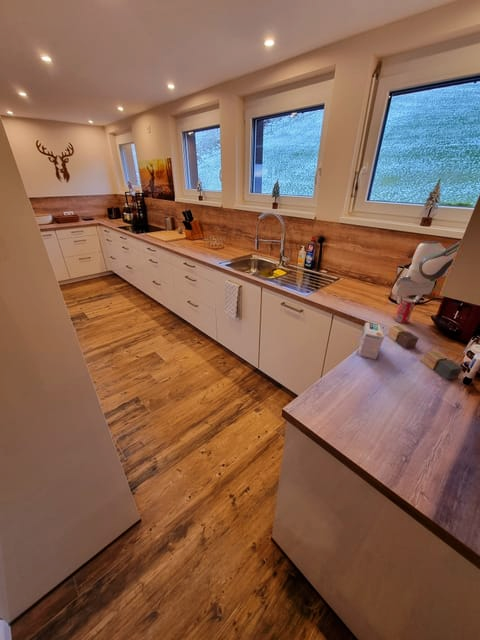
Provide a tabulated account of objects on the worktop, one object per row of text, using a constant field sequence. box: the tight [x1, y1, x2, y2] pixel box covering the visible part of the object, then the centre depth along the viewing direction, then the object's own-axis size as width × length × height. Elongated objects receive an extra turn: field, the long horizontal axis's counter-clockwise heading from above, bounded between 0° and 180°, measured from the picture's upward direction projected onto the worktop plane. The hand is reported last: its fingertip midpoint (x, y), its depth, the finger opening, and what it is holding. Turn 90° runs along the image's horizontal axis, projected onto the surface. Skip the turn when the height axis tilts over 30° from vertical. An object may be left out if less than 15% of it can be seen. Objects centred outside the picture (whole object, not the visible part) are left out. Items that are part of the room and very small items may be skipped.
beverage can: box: [394, 297, 415, 324], centre depth 133 cm, size 6×6×12 cm
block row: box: [387, 325, 464, 381], centre depth 108 cm, size 5×31×5 cm, turn 13°
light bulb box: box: [358, 321, 385, 360], centre depth 108 cm, size 11×7×11 cm, turn 157°
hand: (407, 302), depth 130 cm, fingers open, 8 cm apart
